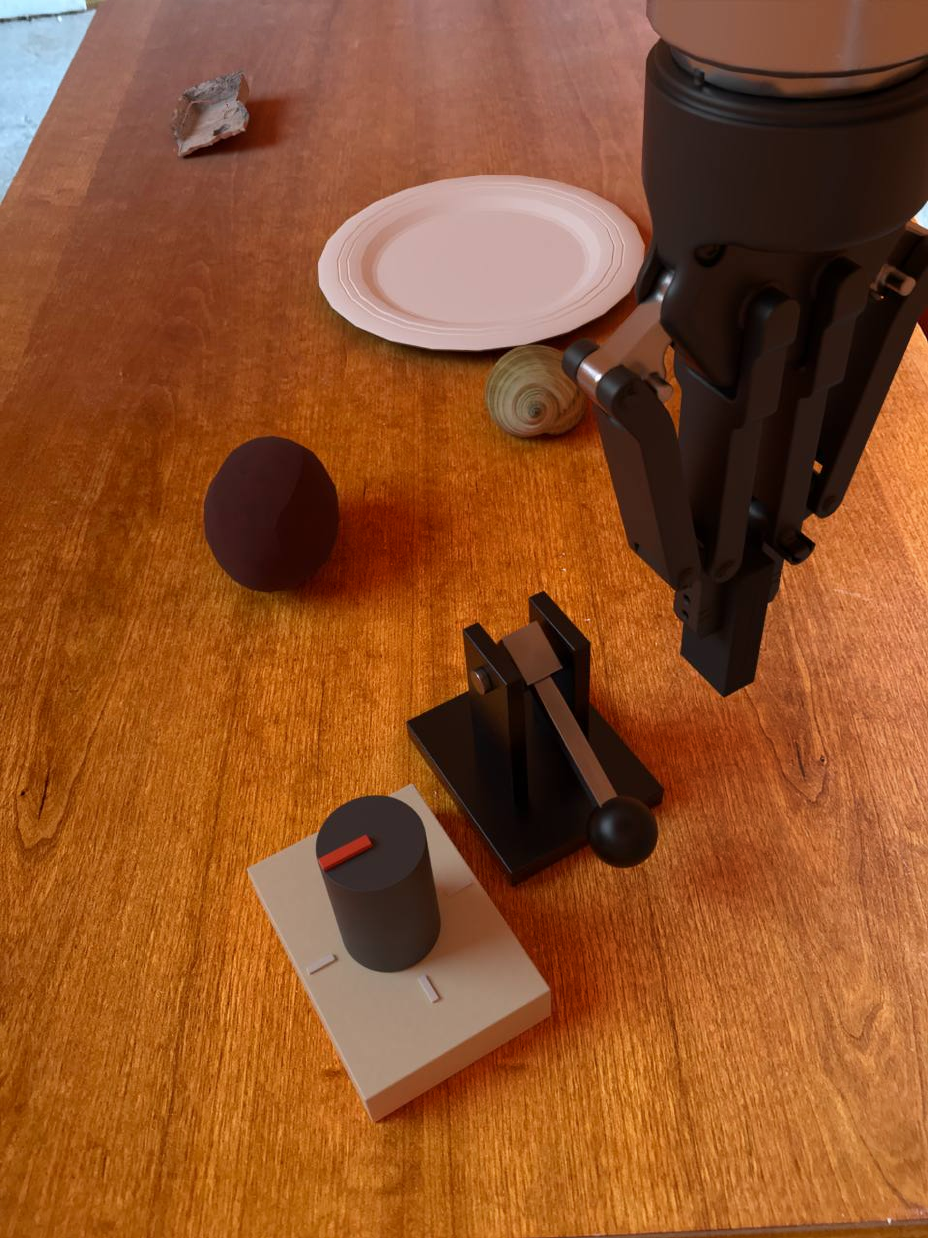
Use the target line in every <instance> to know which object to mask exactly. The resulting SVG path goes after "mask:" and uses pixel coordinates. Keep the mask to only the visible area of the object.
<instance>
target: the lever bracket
mask: <svg viewBox="0 0 928 1238" xmlns="http://www.w3.org/2000/svg"><path fill="white" fill-rule="evenodd" d="M527 599H528V621H529V622H528V624H530V623H532V622H534V621H538V623H539V625H540V626H541V628H542V630H543V632H544V634H545V635H546V637H547V639H548V641H549V643H550V644H551V646H552V648H553V650H554V652H555V653H556V655H557V657H558V659H559V661H560V662H561V664H562V666H563V668H562V669H561V670H560V671H559V672H558V673H557V674H556V675H555V676H553V677H552V679H553V680H554V682H555V684H556V686H557V688H558V689H559V691H560V693H561V695H562V697H563V699H564V700H565V702H566V704H567V706H568V708H569V709H570V711H571V713H572V715H573V717H574V718H575V720H576V722H577V724H578V726H579V727H580V729H581V731H582V733H583V735H584V737H585V738H586V740H587V742H588V744H589V746H590V747H591V749H592V751H593V753H594V755H595V756H596V758H597V760H598V762H599V764H600V765H601V767H602V769H603V771H604V773H605V775H606V776H607V778H608V780H609V782H610V784H611V785H612V787H613V789H614V791H615V793H616V794H617V796H629V797H633V798H635V799H638V800H640V801H641V802H643V803H644V804H645V805H646V806H647V807H648V808H649V809H650V810H651V811H652V810H653V809H655V808H656V807H659V806H660V805H662V804H663V803H664V795H665V788H664V787H663V785H662V784H661V783H660V782H659V780H658V779H657V778H656V777H655V776H654V775H653V773H652V772H651V771H650V770H649V769H648V767H646V766H645V764H644V763H643V762H642V761H641V759H640V758H639V757H638V756H637V755H636V754H635V753H634V751H633V750H632V749H631V747H630V746H628V744H627V743H626V742H625V741H624V740H623V738H622V737H621V736H620V735H619V734H618V732H617V731H616V730H615V729H614V727H613V726H612V725H611V724H610V723H609V721H607V720H606V719H605V717H604V716H603V715H602V714H601V712H600V711H599V710H598V709H597V708H596V706H594V705H593V703H592V701H590V700H591V699H590V695H591V655H592V653H591V652H592V642H591V640H589V638H587V637H586V635H585V634H584V633H583V632H582V631H581V630H580V629H579V628H578V626H577V625H576V624H575V623H574V622H573V621H572V620H571V618H569V616H568V615H567V614H566V613H565V612H564V611H563V610H562V609H561V607H560V606H559V605H558V604H557V603H556V602H555V601H554V600H553V599H552V597H551V596H550V595H549V594H548V593H547V592H546V591H545V590H541V591H539V592H537V593H535V594H533V595H531V596H528V598H527ZM462 639H463V648H464V649H463V650H464V659H465V660H464V661H465V669H466V679H467V687H468V690H466V691H465V692H462V693H460V694H459V695H456V696H455V697H452V698H451V699H448V700H447V701H444V702H442V703H440V704H438V705H436V706H433V707H432V708H430V709H428V710H427V711H425V712H423V713H421V714H418V715H416V716H414V717H412V718H410V719H408V720H406V721H405V726H406V731H407V737H408V739H409V740H410V741H411V742H412V744H413V745H414V747H415V749H416V750H417V751H418V753H419V755H420V756H421V757H422V759H423V760H424V761H425V763H426V764H427V766H428V767H429V769H430V770H431V772H432V774H434V776H435V777H436V779H437V780H438V782H439V783H440V785H441V786H442V788H443V789H444V791H445V792H446V794H447V795H448V797H449V798H450V799H451V801H452V802H453V804H454V805H455V807H456V808H457V809H458V811H459V813H460V814H461V815H462V817H463V818H464V819H465V821H466V822H467V824H468V825H469V827H470V828H471V830H472V831H473V833H474V834H475V836H476V837H477V838H478V840H479V842H480V843H481V845H482V846H483V848H484V849H485V851H486V852H487V853H488V854H489V856H490V857H491V859H492V860H493V862H494V864H496V866H497V867H498V869H499V870H500V872H501V874H502V875H503V876H504V878H505V879H506V880H507V882H508V883H509V885H510V886H511V887H512V888H514V887H516V886H518V885H519V884H521V883H523V882H525V881H526V880H528V879H530V878H532V877H534V876H536V875H537V874H539V873H541V872H542V871H544V870H547V869H548V868H550V867H552V866H553V865H555V864H557V863H559V862H560V861H562V860H564V859H565V858H568V857H569V856H571V855H572V854H573V855H574V854H575V853H576V852H578V851H580V850H582V849H583V848H585V847H587V846H589V844H588V841H587V836H586V826H587V821H588V818H589V816H590V814H591V812H592V811H593V809H594V807H593V805H592V803H591V801H590V799H589V797H588V796H587V794H586V792H585V790H584V788H583V786H582V785H581V783H580V781H579V779H578V777H577V776H576V774H575V772H574V770H573V768H572V766H571V765H570V763H569V761H568V759H567V757H566V755H565V754H564V752H563V750H562V748H561V746H560V744H559V743H558V741H557V739H556V737H555V735H554V733H553V732H552V730H551V728H550V726H549V724H548V723H547V721H546V719H545V717H544V715H543V713H542V712H541V710H540V708H539V706H538V704H537V702H536V701H535V699H534V697H533V695H532V693H531V691H530V690H528V691H526V692H524V687H523V676H522V675H521V674H520V672H519V671H518V670H517V669H516V667H515V666H514V665H513V664H512V663H511V661H510V660H509V659H508V658H507V656H506V655H505V654H504V653H503V652H502V650H501V649H500V648H499V647H498V645H497V642H496V641H494V639H493V638H492V637H491V635H490V634H489V633H488V632H487V630H486V629H485V627H483V626H482V624H481V623H480V622H479V621H477V622H475V623H473V624H470V625H469V626H467V627H465V628H462Z"/></svg>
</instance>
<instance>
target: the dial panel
mask: <svg viewBox="0 0 928 1238" xmlns="http://www.w3.org/2000/svg"><path fill="white" fill-rule="evenodd" d="M387 796H389V797H393V798H396V799H398V800H401V801H403V802H404V803H406V804H407V805H409V806H410V807H411V808H413V809H414V810H415V811H416V813H417V814H418V815H419V817H420V818H421V820H422V822H423V824H424V827H425V831H426V837H427V842H428V848H429V854H430V860H431V866H432V871H433V877H434V883H435V889H436V894H437V900H438V906H439V912H440V917H441V927H440V933H439V937H438V939H437V942H436V944H435V945H434V947H433V949H432V950H431V951H430V953H429V954H428V955H427V956H426V957H425V958H424V959H423V960H421V961H420V962H419V963H417V964H416V965H414V966H412V967H410V968H408V969H405V970H402V971H397V972H378V971H374V970H370V969H368V968H366V967H364V966H362V965H360V964H359V963H357V962H356V961H355V960H354V959H353V958H352V957H351V956H350V954H349V953H348V951H347V950H346V948H345V945H344V943H343V940H342V937H341V934H340V930H339V927H338V924H337V921H336V918H335V915H334V912H333V908H332V905H331V902H330V899H329V896H328V893H327V890H326V886H325V883H324V880H323V877H322V874H321V871H320V867H319V864H318V861H317V857H316V840H317V836H318V833H319V830H318V831H316V832H314V833H313V834H310V835H308V836H307V837H305V838H302V839H301V840H299V841H297V842H295V843H294V844H291V845H290V846H287V847H286V848H284V849H281V850H280V851H278V852H276V853H274V854H271V855H270V856H268V857H266V858H264V859H262V860H261V861H258V862H256V863H255V864H253V865H250V866H248V867H247V868H246V872H247V874H248V876H249V879H250V881H251V884H252V886H253V888H254V891H255V893H256V896H257V899H258V900H259V902H260V904H261V906H262V908H263V909H264V912H265V914H266V915H267V918H268V920H269V922H270V923H271V925H272V927H273V930H274V932H275V934H276V935H277V937H278V940H279V941H280V943H281V945H282V947H283V949H284V951H285V953H286V955H287V957H288V959H289V961H290V964H291V965H292V967H293V969H294V971H295V973H296V975H297V977H298V978H299V981H300V982H301V984H302V986H303V988H304V990H305V992H306V995H307V997H308V998H309V1001H310V1002H311V1004H312V1006H313V1008H314V1010H315V1012H316V1014H317V1016H318V1018H319V1020H320V1023H321V1024H322V1026H323V1028H324V1030H325V1032H326V1033H327V1035H328V1038H329V1040H330V1041H331V1044H332V1045H333V1048H334V1050H335V1052H336V1054H337V1055H338V1058H339V1059H340V1061H341V1063H342V1065H343V1067H344V1069H345V1071H346V1073H347V1076H348V1077H349V1079H350V1082H351V1083H352V1085H353V1087H354V1089H355V1091H356V1093H357V1095H358V1097H359V1099H360V1101H361V1102H362V1105H363V1106H364V1108H365V1111H366V1113H367V1114H368V1116H369V1118H370V1120H371V1122H372V1123H373V1124H374V1123H376V1122H378V1121H380V1120H382V1119H383V1118H385V1117H386V1116H388V1115H390V1114H391V1113H393V1112H395V1111H396V1110H398V1109H400V1108H402V1107H403V1106H404V1105H406V1104H408V1103H410V1102H411V1101H413V1100H414V1099H416V1098H418V1097H419V1096H421V1095H422V1094H424V1093H426V1092H427V1091H429V1090H431V1089H432V1088H434V1087H436V1086H437V1085H439V1084H440V1083H443V1082H444V1081H445V1080H447V1079H449V1078H450V1077H452V1076H454V1075H455V1074H457V1073H459V1072H460V1071H462V1070H464V1069H465V1068H467V1067H469V1066H470V1065H472V1064H473V1063H475V1062H477V1061H478V1060H480V1059H482V1058H484V1057H485V1056H486V1055H488V1054H490V1053H491V1052H493V1051H495V1050H496V1049H498V1048H500V1047H502V1046H503V1045H504V1044H506V1043H508V1042H510V1041H511V1040H513V1039H515V1038H516V1037H517V1036H520V1035H521V1034H522V1033H524V1032H526V1031H527V1030H529V1029H531V1028H533V1027H534V1026H536V1025H538V1024H539V1023H541V1022H542V1021H544V1020H546V1019H547V1018H549V1017H551V1015H552V990H551V989H552V988H551V986H549V984H548V983H547V981H546V980H545V978H544V976H543V975H542V974H541V972H540V971H539V969H538V967H536V965H535V963H534V962H533V960H532V959H531V957H530V956H529V954H528V953H527V951H526V950H525V948H524V947H523V945H522V944H521V942H520V941H519V939H518V938H517V936H516V935H515V933H514V932H513V931H512V928H511V927H510V926H509V924H508V923H507V921H506V920H505V918H504V917H503V915H502V914H501V912H500V911H499V909H498V908H497V907H496V905H495V903H494V902H493V900H492V899H491V898H490V896H489V894H488V893H487V891H486V890H485V888H484V887H483V886H482V883H480V881H479V880H478V878H477V877H476V875H475V874H474V872H473V870H472V869H471V868H470V866H469V864H468V863H467V862H466V860H465V858H464V857H463V856H462V853H460V851H459V849H458V848H457V846H456V845H455V844H454V842H453V840H452V839H451V837H450V836H449V835H448V833H447V832H446V830H445V828H444V827H443V826H442V824H441V823H440V821H439V820H438V818H437V817H436V815H435V814H434V812H433V811H432V809H431V808H430V806H429V805H428V803H427V802H426V800H425V799H424V797H423V796H422V794H421V792H420V791H419V789H418V788H417V787H416V785H415V784H414V783H413V782H412V783H409V784H408V785H405V786H404V787H402V788H399V789H398V790H396V791H394V792H392V793H390V794H388V795H387Z"/></svg>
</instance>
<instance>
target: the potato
mask: <svg viewBox="0 0 928 1238" xmlns="http://www.w3.org/2000/svg"><path fill="white" fill-rule="evenodd" d="M339 506H340V505H339V496H338V492H337V487H336V485H335V483H334V481H333V479H332V477H331V476H330V474H329V472H328V470H327V469H326V467H325V465H324V464H323V462H322V461H321V460H320V458H319V457H318V455H316V453H314V451H313V450H311V449H309V448H307V447H306V446H304V445H302V444H300V443H298V442H296V441H294V440H292V439H290V438H285V437H281V436H277V435H276V436H275V435H267V436H258V437H254V438H252V439H250V440H248V441H245V442H243V443H241V444H240V445H239V446H237V447H236V448H235V449H233V450H232V451H230V452H229V454H228V456H227V457H226V458H225V460H224V462H223V463H222V464H221V466H220V467H219V469H218V470H217V472H216V474H215V475H214V477H213V478H212V479H211V481H210V483H209V484H208V488H207V490H206V494H205V497H204V501H203V523H204V537H205V540H206V542H207V544H208V546H209V549H210V551H211V553H212V555H213V557H214V559H215V561H216V564H217V565H218V566H219V567H220V568H221V569H222V570H223V571H224V572H225V574H226V575H228V576H229V577H230V578H231V579H232V580H233V581H234V582H235V583H237V584H238V585H240V586H241V587H244V588H245V589H248V590H249V591H253V592H254V591H255V592H261V593H268V594H269V593H276V592H282V591H285V590H288V589H291V588H294V587H296V586H297V585H300V584H302V583H304V582H305V581H306V580H308V579H309V578H311V577H312V576H313V575H315V574H316V573H317V572H319V571H320V569H321V568H322V567H323V566H324V565H325V564H326V563H327V561H328V559H329V557H330V555H331V553H332V551H333V549H334V547H335V543H336V540H337V538H338V535H339V528H340V520H341V519H340V507H339Z"/></svg>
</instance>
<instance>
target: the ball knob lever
mask: <svg viewBox="0 0 928 1238" xmlns="http://www.w3.org/2000/svg"><path fill="white" fill-rule="evenodd" d="M496 644H497V645H498V647H499V648H500V649H501V650H502V652H503V653H504V654H505V655H506V656H507V658H508V659H509V660H510V661H511V663H512V664H513V665H514V666H515V667H516V669H517V670H518V671H519V672H520V674H521V675H522V676H523V687H524V692H526V691H528V690H530V691H531V693H532V695H533V697H534V699H535V701H536V702H537V704H538V706H539V708H540V710H541V712H542V713H543V715H544V717H545V719H546V721H547V723H548V724H549V726H550V728H551V730H552V732H553V733H554V735H555V737H556V739H557V741H558V743H559V744H560V746H561V748H562V750H563V752H564V754H565V755H566V757H567V759H568V761H569V763H570V765H571V766H572V768H573V770H574V772H575V774H576V776H577V777H578V779H579V781H580V783H581V785H582V786H583V788H584V790H585V792H586V794H587V796H588V797H589V799H590V801H591V803H592V805H593V807H594V809H593V811H592V812H591V814H590V816H589V818H588V821H587V826H586V836H587V841H588V844H589V845H588V847H589V848H590V851H591V852H592V853H593V854H594V856H595V857H596V858H597V859H598V860H599V861H601V862H602V863H603V864H605V865H607V866H610V867H612V868H616V869H630V868H634V867H637V866H639V865H641V864H642V863H644V862H646V861H647V860H648V859H649V858H650V857H651V856H652V854H653V853H654V851H655V849H656V847H657V844H658V841H659V825H658V822H657V818H656V817H655V815H654V813H653V812H652V809H651V810H650V809H649V808H648V807H647V806H646V805H645V804H644V803H643V802H641V801H640V800H638V799H635V798H633V797H629V796H617V794H616V793H615V791H614V789H613V787H612V785H611V784H610V782H609V780H608V778H607V776H606V775H605V773H604V771H603V769H602V767H601V765H600V764H599V762H598V760H597V758H596V756H595V755H594V753H593V751H592V749H591V747H590V746H589V744H588V742H587V740H586V738H585V737H584V735H583V733H582V731H581V729H580V727H579V726H578V724H577V722H576V720H575V718H574V717H573V715H572V713H571V711H570V709H569V708H568V706H567V704H566V702H565V700H564V699H563V697H562V695H561V693H560V691H559V689H558V688H557V686H556V684H555V682H554V680H553V679H552V677H553V676H555V675H556V674H557V673H558V672H559V671H560V670H561V669H562V668H563V666H562V664H561V662H560V661H559V659H558V657H557V655H556V653H555V652H554V650H553V648H552V646H551V644H550V643H549V641H548V639H547V637H546V635H545V634H544V632H543V630H542V628H541V626H540V625H539V623H538V621H534V622H532V623H530V624H529V623H528V624H526V625H524V626H522V627H520V628H518V629H515V630H514V631H512V632H510V633H507V634H506V635H503V636H501V638H500V639H499V640H498V642H496Z"/></svg>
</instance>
